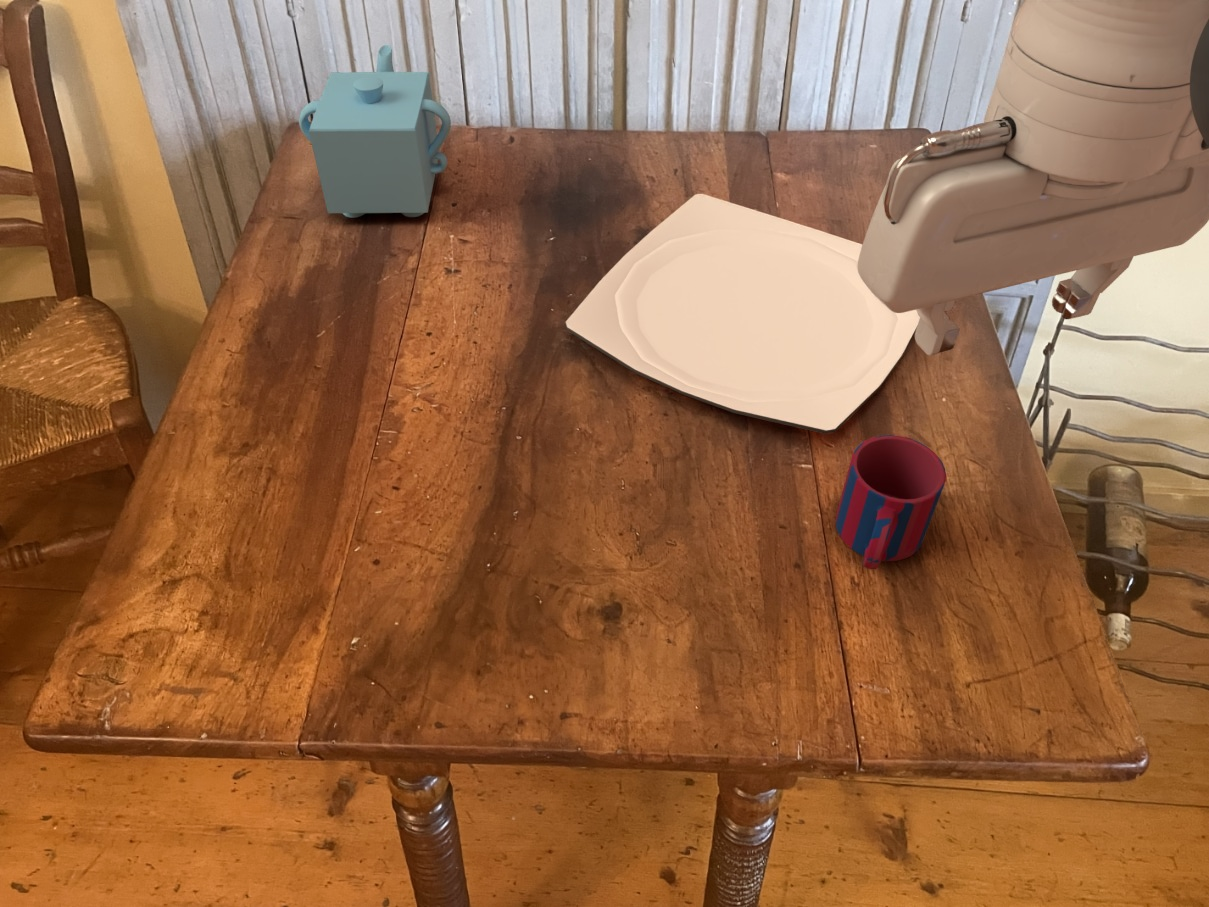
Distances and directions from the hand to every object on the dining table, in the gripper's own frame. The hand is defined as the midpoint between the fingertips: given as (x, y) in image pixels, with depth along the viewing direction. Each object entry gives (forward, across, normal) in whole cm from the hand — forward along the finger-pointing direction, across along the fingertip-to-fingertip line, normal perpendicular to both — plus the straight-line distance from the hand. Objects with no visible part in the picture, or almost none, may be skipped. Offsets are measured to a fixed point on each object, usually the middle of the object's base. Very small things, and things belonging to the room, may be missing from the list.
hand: (1002, 328), depth 57 cm
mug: (+22, -2, +3) cm, 23 cm away
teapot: (+23, -26, +66) cm, 74 cm away
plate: (+23, +1, +30) cm, 38 cm away
